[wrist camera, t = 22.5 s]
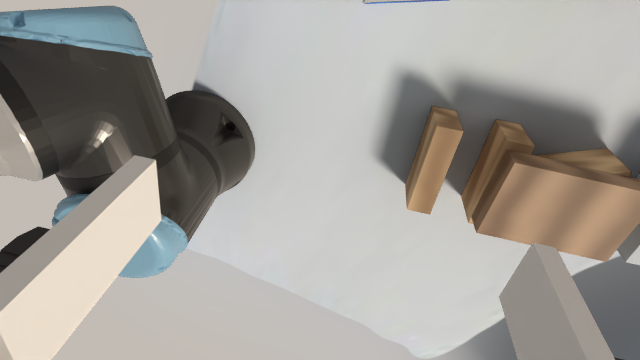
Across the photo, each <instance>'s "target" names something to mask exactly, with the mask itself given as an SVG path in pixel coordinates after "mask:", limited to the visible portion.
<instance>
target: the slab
mask: <svg viewBox="0 0 640 360" xmlns="http://www.w3.org/2000/svg"><path fill="white" fill-rule="evenodd" d="M471 218H472V221H473V224H474V227H475V230H476V233H480V234H485V235H489V236H494V237H498V238H503V239H507V240H512V241H516V242H520V243H525V244H529V245H532V243H537V244H541V245H546V246H551V247H555V248H556V249H557V251H561V252H565V253H569V254H574V255H578V256H583V257H587V258H592V259H596V260H601V261H605V262H606V261H608V259H609V258H610V257H611V256H612V255H613V254H614V252H615V251H616V250H617V249H618V248H619V246H620V245H621V244H622V243H623V242H624V241H625V239H626V238H627V237H628V236H629V235H630V233H631V232H632V231H633V230H634V229H635V228H636V226H637V225H638V224H639V223H640V179H636V178H632V177H627V176H623V175H619V174H614V173H610V172H605V171H601V170H596V169H592V168H587V167H583V166H579V165H574V164H570V163H565V162H561V161H556V160H552V159H547V158H543V157H538V156H534V155H530V154H525V153H521V152H516V151H512V150H506V152H505V154H504V156H503V158H502V160H501V161H500V163H499V165H498V167H497V169H496V171H495V173H494V175H493V177H492V179H491V181H490V182H489V184H488V186H487V188H486V190H485V192H484V194H483V196H482V198H481V200H480V202H479V203H478V205H477V207H476V209H475V211H474V213H473V215H472V217H471Z"/></svg>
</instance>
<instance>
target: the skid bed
mask: <svg viewBox="0 0 640 360" xmlns="http://www.w3.org/2000/svg"><path fill="white" fill-rule="evenodd" d="M463 132H464V131H463V129H462V126H461V123H460V121H459V118H458V115H457V113H456V111H454V110H449V109H445V108H440V107H435V106H432V108H431V111H430V113H429V116H428V119H427V122H426V125H425V128H424V131H423V134H422V137H421V140H420V143H419V146H418V148H417V151H416V154H415V157H414V160H413V163H412V166H411V169H410V172H409V175H408V178H407V181H406V184H405V187H406V203H407V209H408V210H412V211H417V212H421V213H426V214H430V213H431V210H432V208H433V205H434V203H435V201H436V198H437V196H438V193H439V191H440V188H441V186H442V183H443V181H444V178H445V176H446V174H447V171H448V169H449V166H450V164H451V161H452V159H453V156H454V154H455V151H456V149H457V147H458V144H459V142H460V139H461V137H462V134H463ZM534 148H535V146H534V144H533V143H532V141H531V140H530V138H529V137H528V135H527V134H526V132H525V131H524V129H523V128H522V126H521V125H520V124H517V123H512V122H507V121H502V120H497V119H496V120H495V122H494V124H493V127H492V129H491V131H490V133H489V135H488V138H487V140H486V142H485V144H484V147H483V149H482V151H481V153H480V155H479V158H478V160H477V162H476V164H475V167H474V169H473V171H472V173H471V175H470V178H469V180H468V182H467V184H466V187H465V189H464V191H463V193H462V195H461V197H462V201H463V205H464V209H465V212H466V216H467V220H468V223H471V224H473V221H472V218H471V217H472V215H473V213H474V211H475V209H476V207H477V205H478V203H479V202H480V200H481V198H482V196H483V194H484V192H485V190H486V188H487V186H488V184H489V182H490V181H491V179H492V177H493V175H494V173H495V171H496V169H497V167H498V165H499V163H500V161H501V160H502V158H503V156H504V154H505V152H506V150H512V151H516V152H521V153H525V154H530V155H531V153H532V152H533V150H534Z"/></svg>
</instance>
